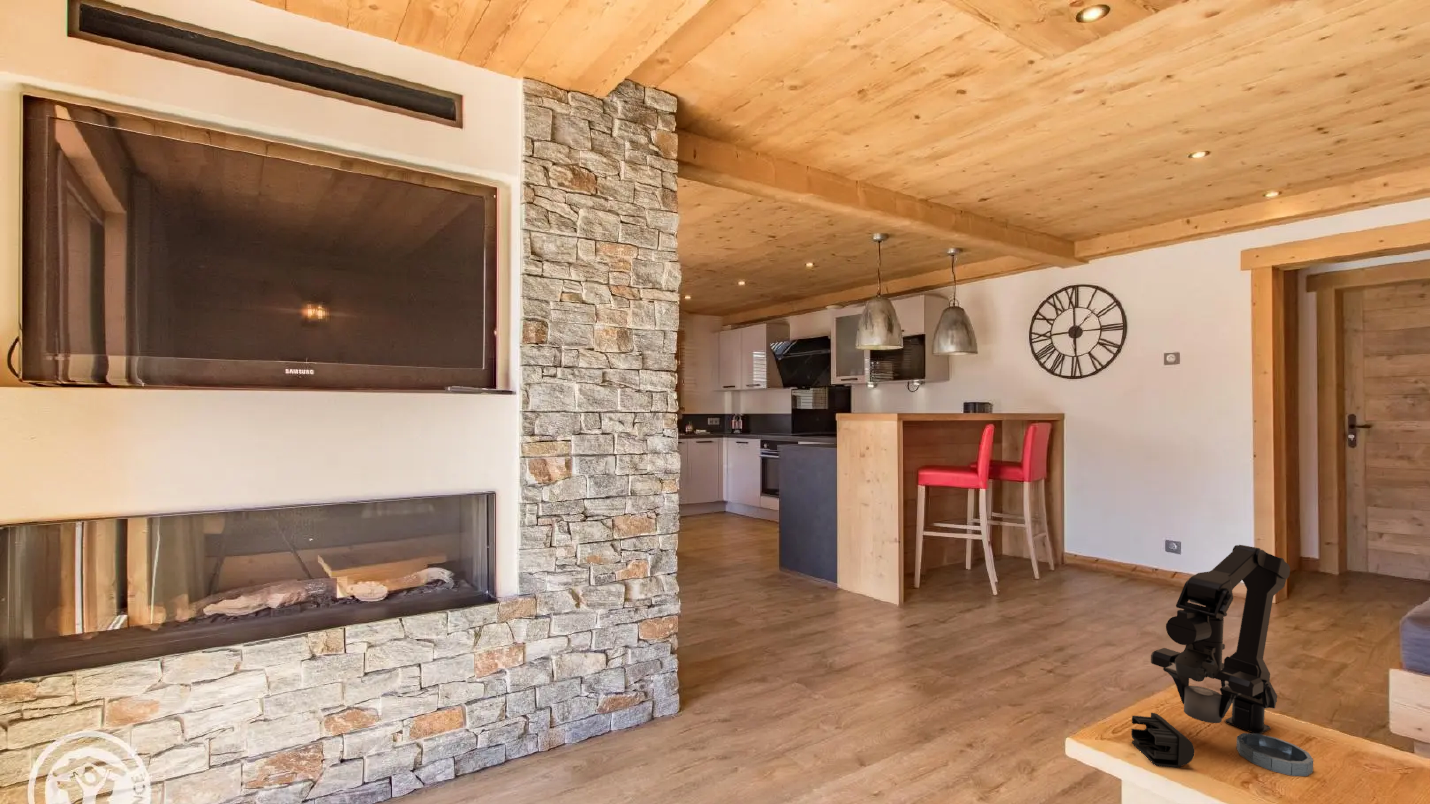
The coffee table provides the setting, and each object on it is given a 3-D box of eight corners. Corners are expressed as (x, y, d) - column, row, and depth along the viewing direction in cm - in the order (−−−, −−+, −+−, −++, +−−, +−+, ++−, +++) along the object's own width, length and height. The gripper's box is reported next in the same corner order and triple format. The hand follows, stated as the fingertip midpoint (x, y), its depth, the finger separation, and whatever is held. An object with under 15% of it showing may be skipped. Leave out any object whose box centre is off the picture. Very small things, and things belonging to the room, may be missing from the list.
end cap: (1194, 771, 129) (1195, 737, 129) (1156, 767, 129) (1157, 733, 129) (1165, 744, 139) (1166, 713, 139) (1129, 741, 139) (1131, 710, 139)
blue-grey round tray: (1251, 739, 142) (1251, 728, 142) (1320, 766, 132) (1321, 754, 132) (1227, 752, 136) (1227, 741, 136) (1298, 781, 126) (1299, 769, 126)
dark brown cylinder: (1192, 705, 143) (1193, 682, 143) (1227, 718, 138) (1228, 694, 138) (1178, 712, 140) (1179, 688, 140) (1213, 725, 135) (1214, 700, 135)
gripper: (1139, 629, 143) (1136, 700, 143) (1242, 660, 127) (1238, 739, 127) (1164, 622, 149) (1161, 690, 149) (1266, 650, 133) (1262, 727, 133)
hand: (1202, 710), depth 139 cm, fingers closed on dark brown cylinder, 6 cm apart
